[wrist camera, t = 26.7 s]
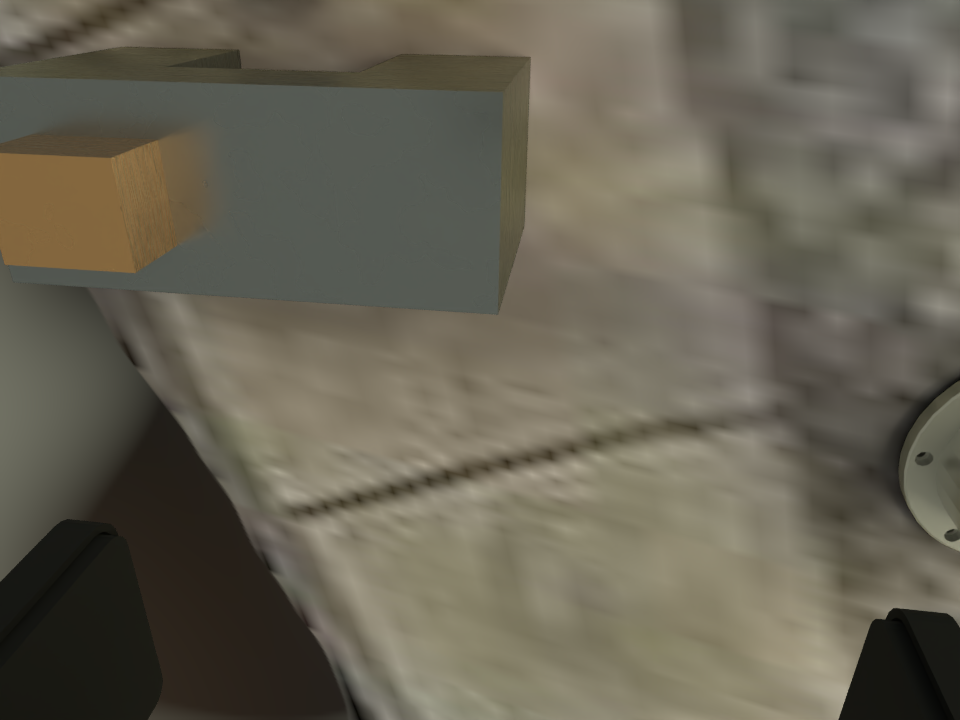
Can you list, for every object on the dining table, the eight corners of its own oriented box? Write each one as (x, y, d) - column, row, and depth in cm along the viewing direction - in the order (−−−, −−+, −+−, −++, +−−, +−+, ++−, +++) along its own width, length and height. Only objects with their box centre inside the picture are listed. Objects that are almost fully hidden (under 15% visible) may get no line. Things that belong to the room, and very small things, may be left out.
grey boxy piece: (530, 57, 35) (491, 107, 22) (524, 227, 38) (487, 349, 26) (122, 46, 37) (-117, 86, 25) (152, 207, 41) (-41, 311, 29)
